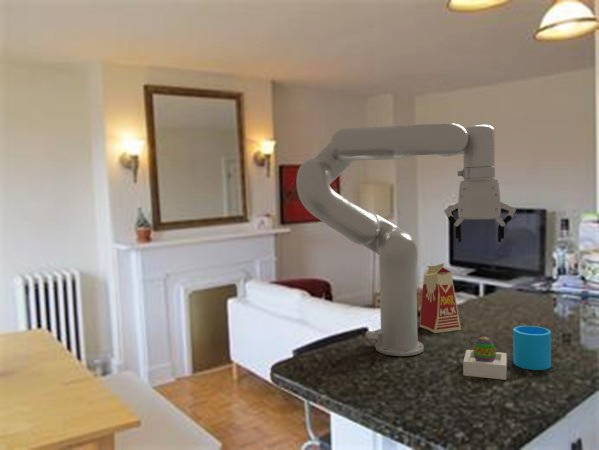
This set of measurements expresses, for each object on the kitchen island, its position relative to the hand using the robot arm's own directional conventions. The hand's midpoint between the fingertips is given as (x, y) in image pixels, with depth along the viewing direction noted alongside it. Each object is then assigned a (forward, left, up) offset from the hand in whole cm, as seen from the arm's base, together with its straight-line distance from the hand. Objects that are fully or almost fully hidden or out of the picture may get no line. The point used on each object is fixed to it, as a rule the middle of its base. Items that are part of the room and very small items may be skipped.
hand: (479, 241), depth 133 cm
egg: (+2, -16, -26) cm, 31 cm away
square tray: (+2, -16, -28) cm, 33 cm away
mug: (+12, -6, -29) cm, 32 cm away
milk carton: (-13, +18, -28) cm, 36 cm away
